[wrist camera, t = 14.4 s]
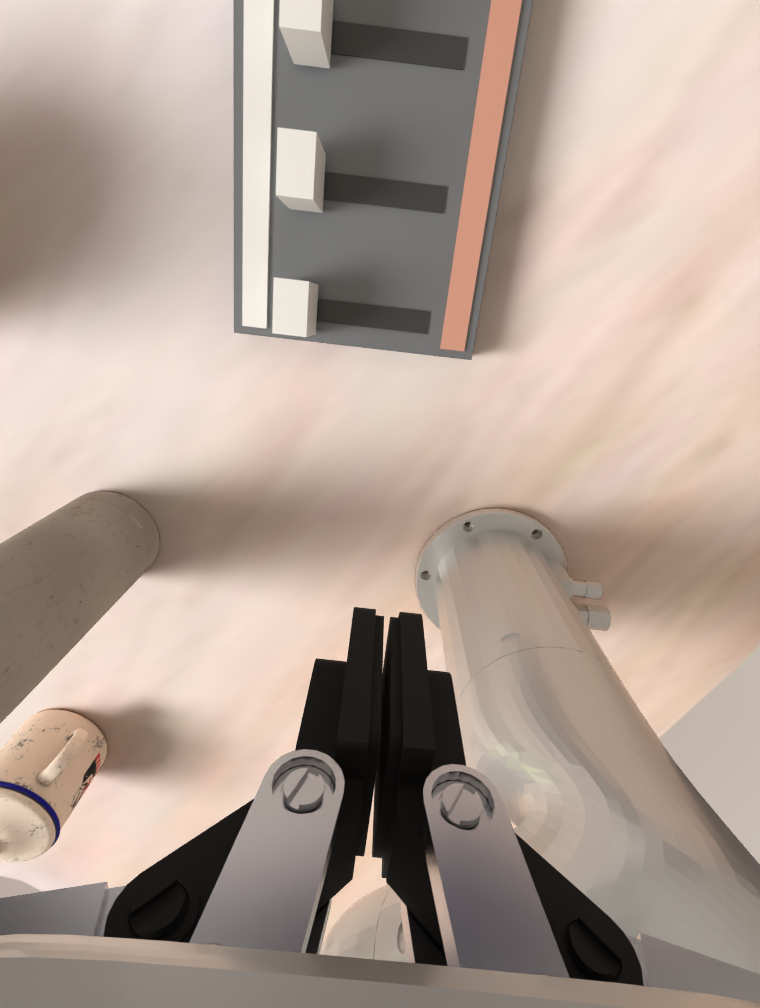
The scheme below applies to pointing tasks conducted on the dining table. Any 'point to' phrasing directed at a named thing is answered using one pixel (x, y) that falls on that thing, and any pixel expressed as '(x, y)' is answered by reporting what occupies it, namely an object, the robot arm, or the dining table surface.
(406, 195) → the grey slider switch panel
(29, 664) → the thermos bottle
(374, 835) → the robot arm
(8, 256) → the dining table surface
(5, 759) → the teacup with lid
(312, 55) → the block
